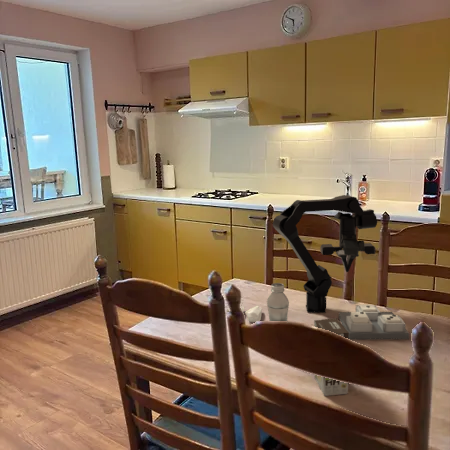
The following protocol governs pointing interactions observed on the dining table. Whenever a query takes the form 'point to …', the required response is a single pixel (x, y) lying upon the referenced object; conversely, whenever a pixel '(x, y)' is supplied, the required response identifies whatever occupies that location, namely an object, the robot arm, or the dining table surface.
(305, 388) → the dining table surface
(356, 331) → the panel
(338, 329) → the coffee box
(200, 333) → the dining table surface
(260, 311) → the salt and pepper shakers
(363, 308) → the button one
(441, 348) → the dining table surface
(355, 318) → the button two
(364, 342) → the dining table surface
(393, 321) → the button three
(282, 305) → the plastic bottle
